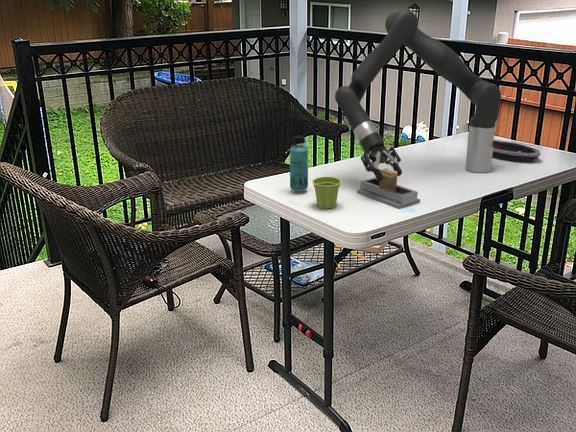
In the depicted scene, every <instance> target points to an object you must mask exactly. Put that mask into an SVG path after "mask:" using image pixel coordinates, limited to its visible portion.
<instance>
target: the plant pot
mask: <svg viewBox="0 0 576 432" xmlns="http://www.w3.org/2000/svg"><path fill="white" fill-rule="evenodd" d="M311 182H312V184H313V187H314V191H315V199H316V204H317V207H318V208H320V209H324V210H327V209H334V208H336V206H337V202H338V201H337V200H338V195H339V188H340V185H341V183H342V179H340V178H338V177H336V176H335V177H334V176H320V177H316V178H313V179H312V181H311Z"/></svg>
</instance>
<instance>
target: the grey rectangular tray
mask: <svg viewBox="0 0 576 432" xmlns="http://www.w3.org/2000/svg"><path fill="white" fill-rule="evenodd" d="M356 193H357V194H359V195H362V196H365V197H367V198H370V199H372V200H375V201H378V202H380V203H382V204H385V205H386V206H387V205H388V206H389V207H393V208H395V209H398V210H400V209H404V208H405V207H409V206H412V205H415V204H418V203H419V204H420V203H421V199H420V198H418V191H417V190H414V189H411V188H408V187H405V186H402V185H399V184H397V191H396V192H394V191H391V190H388V189H386V188H383V187H380V181H379V180H378V179H377V178H376V176H374V177H371V178H367V179H363V180H360V189H357V190H356Z"/></svg>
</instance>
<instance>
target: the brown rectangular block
mask: <svg viewBox="0 0 576 432" xmlns="http://www.w3.org/2000/svg"><path fill="white" fill-rule="evenodd" d="M380 171H381V173H382V175H383V176H384V179H383V180H382V181H380V187H383V188H386V189H388V190H391V191H394V192H396V191H397V185H398V176H397V171H394V170H393V169H390V168H382V169H380Z"/></svg>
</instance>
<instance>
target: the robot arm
mask: <svg viewBox="0 0 576 432" xmlns="http://www.w3.org/2000/svg"><path fill="white" fill-rule="evenodd" d="M384 27H385V31H386V33H387V34H386V35H385V37H384V38H383V39H382V41H380V43H379V44H378V45H377V46H376V47H375V48H374V49H373V50H372V51H370V53H368V54H367V56H366V57H365V58H363V60H362V61H361V63H360V64H359V65H358V66H357V68H356V69H355V70H354V71H353V73H352V75H351V78H350V80H351V81H350V84H349V85H348V86H347V85H343V86H340V87H339V88H337V89H336V90H335V95H334V100H335V102H336V104H337V105H338V107H339V109H340V110H341V112H342V113H343V114H344V116H345V119H346V120H347V122H348V125H349V126H350V128H351V130H352V131H353V134H354V136H355V139H356V140H357V142H358V144H359V146H360V147H361V149H362V151H363V154H362V155H361V156H360V160H361V162H362V164H363V167H364V168H365V170H366V172H368V173H370V172H372V173H373V175H374V177H376V178H377V179H378V180H379V181H382V180H383V179H384V176H383V175H382V173H381V171H380V170H381V169H380V168H379V165H380V164H385V165H389V166H391V168H392V170H394V171H397V177H400V176H401V175H402V174H403V171H402V168H401V167H400V165H399V163H400V162H402V159H401V157H400V155H399V154H398V153H397V151H396V149H395V148H394V147H393V146H391V147H389V148H386V146H385V142H384V141H385V140H384V139H383V138H382V136H381V134H380V133H379V131H378V129H377V128H376V126H375V124H374V123H373V122H372V120H371V118H370V116H369V114H368V113H367V112H366V111H365V109H364V108H363V106H362V105H361V101H362V99H363V98H364V95H365V93H366V92H367V89H368V88H369V86H370V85H371V84H372V83H373V81H374V80H375V79H376V78H377V76H378V75H379V73H380V72H381V70H382V69H383V68H384V67H385V65H386V64H387V63H388V62H389V61H390V59H391V58H392V57H393V55H395V53H396V52H397V51H398V50H399V49H400V48H401V47H402V46H405V47H407V48H408V49H409V50H410V51H412V53H414V54H415V55H416V56H417V57H418V58H419V59H420V60H422V61H423V63H425V64H426V65H427V66H428V67H429V68H430V69H432V70H433V72H435V73H437V74H438V75H439V76H440V77H441V78H443V79H444V80H446V81H447V82H449V83H450V84H452V85H454V86H455V87H457V88H458V89H459V90H460V92H462V94H464V96H466V98H467V99H468V100H469V102H471V103H472V104H473V105H475V112H474V115H473V116H471V117H470V119H469V125H468V135H467V136H468V137H467V145H466V156H465V167H464V168H465V170H466V171H468V172H470V173H471V172H472V173H478V174H481V173H482V174H483V173H485V174H486V173H491V171H492V162H493V157H492V154H493V140H495V139H494V138H495V131H496V130H495V129H496V122H497V120H499V119H498V118H499V115H500V108H501V102H502V92H501V89H500V87H499V86H498V85H496V84H494V83H491V82H489V81H486V80H483V78H480V77H479V76H478V75H476V74H475V73H473V72H472V71H471V70H470V69H469V68H468V66H467V65H466V63H465V61H463V59H462V58H461V56H459V54H458V53H456V52H455V51H454V50H453V49H452V48H450V47H449V46H448V45H446V44H445V43H443V42H441V41H439V40H437V39H436V38H434V37H432V36H430V35H428V34H426V33H425V32H423V31H422V30H421V29H420V28H419V20H418V17H417V15H416V13H415V12H413V11H411V10H398V11H395V12H392V13H390V14H389V15H388V16H387V17H386V19H385V22H384Z"/></svg>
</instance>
